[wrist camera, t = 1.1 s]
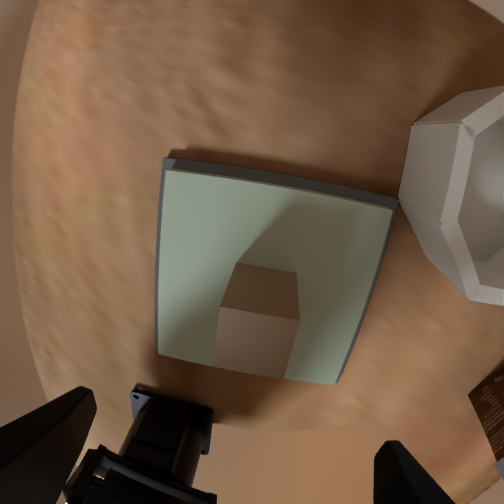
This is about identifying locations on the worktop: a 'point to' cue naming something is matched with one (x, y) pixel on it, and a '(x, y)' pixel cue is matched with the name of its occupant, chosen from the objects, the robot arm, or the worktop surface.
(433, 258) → the bowl
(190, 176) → the lid
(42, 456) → the robot arm
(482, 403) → the food container
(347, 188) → the mat
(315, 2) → the worktop surface
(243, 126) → the worktop surface
